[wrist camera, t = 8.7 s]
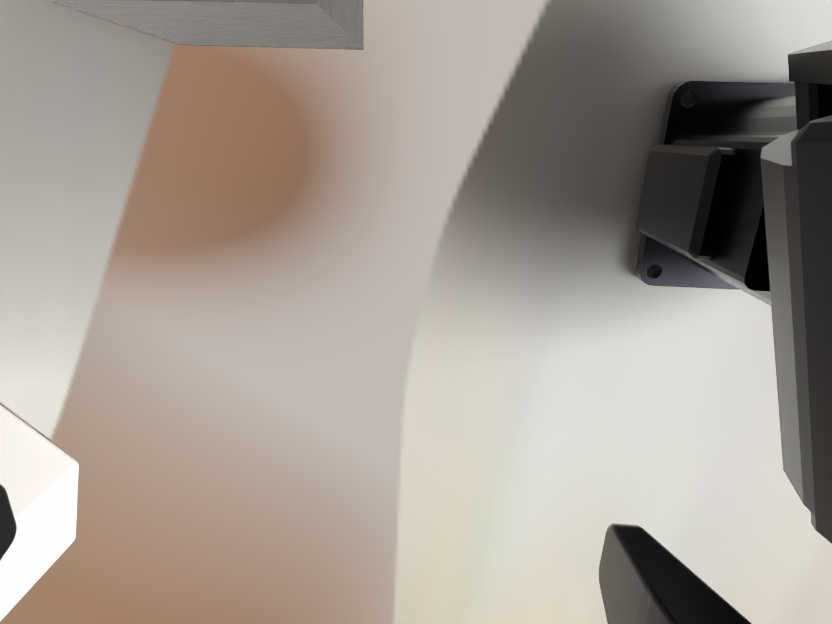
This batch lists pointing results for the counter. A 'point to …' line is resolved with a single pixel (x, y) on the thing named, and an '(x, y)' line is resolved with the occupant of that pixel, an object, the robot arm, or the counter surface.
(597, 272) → the counter surface
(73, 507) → the jar
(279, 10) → the gray rectangular block
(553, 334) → the counter surface
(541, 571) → the counter surface
